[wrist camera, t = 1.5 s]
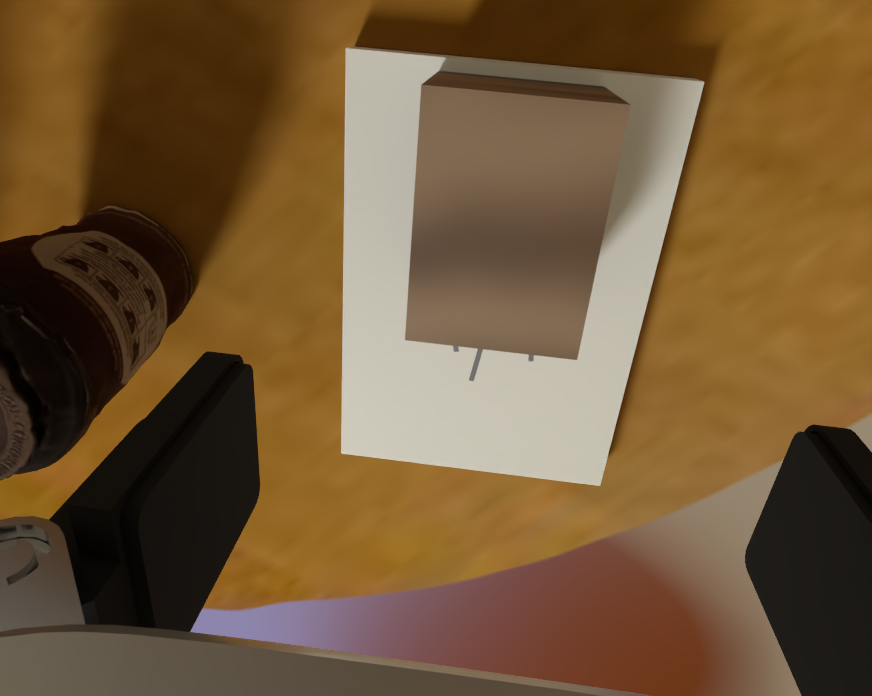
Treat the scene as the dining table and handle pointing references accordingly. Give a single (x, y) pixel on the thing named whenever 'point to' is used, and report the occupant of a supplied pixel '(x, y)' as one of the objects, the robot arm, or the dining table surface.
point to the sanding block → (510, 210)
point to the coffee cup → (79, 326)
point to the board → (478, 368)
